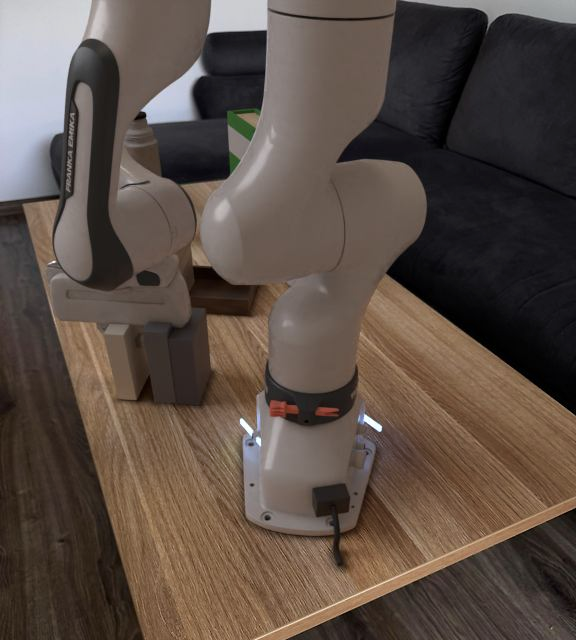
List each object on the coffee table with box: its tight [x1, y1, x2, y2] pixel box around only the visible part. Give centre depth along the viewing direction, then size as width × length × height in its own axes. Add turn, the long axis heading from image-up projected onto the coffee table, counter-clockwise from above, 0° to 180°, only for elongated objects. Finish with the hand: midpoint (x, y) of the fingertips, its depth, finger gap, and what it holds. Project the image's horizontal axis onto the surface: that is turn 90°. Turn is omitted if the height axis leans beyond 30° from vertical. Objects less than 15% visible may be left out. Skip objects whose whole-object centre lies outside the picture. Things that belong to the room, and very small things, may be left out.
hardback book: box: [226, 107, 261, 176], centre depth 142 cm, size 18×7×24 cm, turn 23°
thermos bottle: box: [123, 110, 163, 177], centre depth 130 cm, size 8×8×28 cm
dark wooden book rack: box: [175, 243, 259, 317], centre depth 114 cm, size 20×13×13 cm, turn 84°
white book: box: [102, 324, 150, 401], centre depth 92 cm, size 3×9×12 cm, turn 174°
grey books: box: [143, 308, 212, 406], centre depth 91 cm, size 7×9×13 cm
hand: (129, 345), depth 91 cm, fingers closed on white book, 3 cm apart
